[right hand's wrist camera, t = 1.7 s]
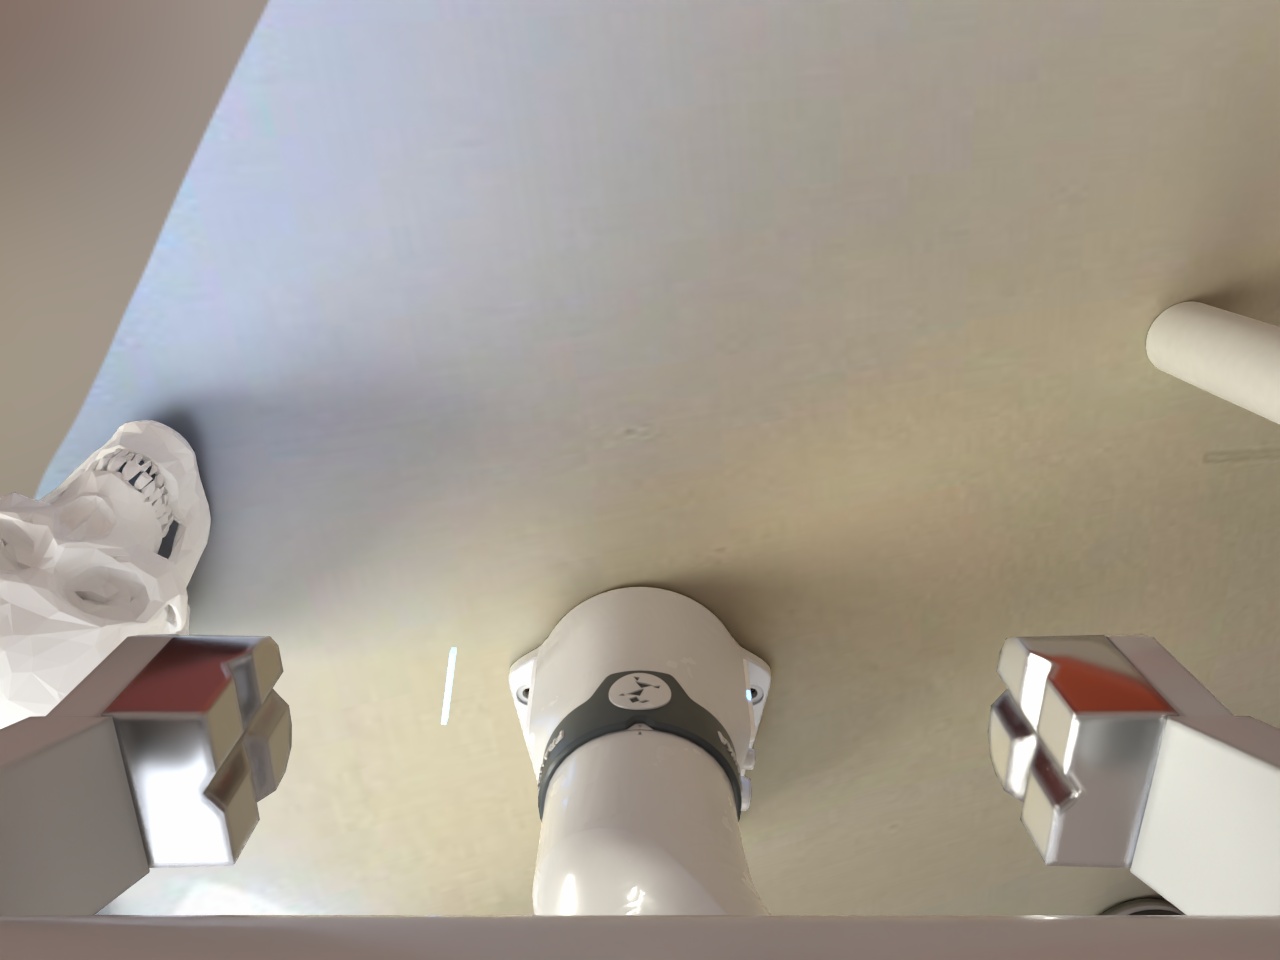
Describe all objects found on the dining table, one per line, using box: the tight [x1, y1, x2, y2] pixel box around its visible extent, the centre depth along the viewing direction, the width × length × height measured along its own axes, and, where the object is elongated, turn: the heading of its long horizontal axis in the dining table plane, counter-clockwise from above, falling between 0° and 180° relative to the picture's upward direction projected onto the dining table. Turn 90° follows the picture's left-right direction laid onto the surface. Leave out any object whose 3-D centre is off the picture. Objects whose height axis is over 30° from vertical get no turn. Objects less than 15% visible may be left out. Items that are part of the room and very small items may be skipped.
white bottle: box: [1146, 301, 1280, 425], centre depth 50 cm, size 5×5×16 cm
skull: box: [0, 420, 211, 729], centre depth 55 cm, size 13×22×16 cm, turn 156°
